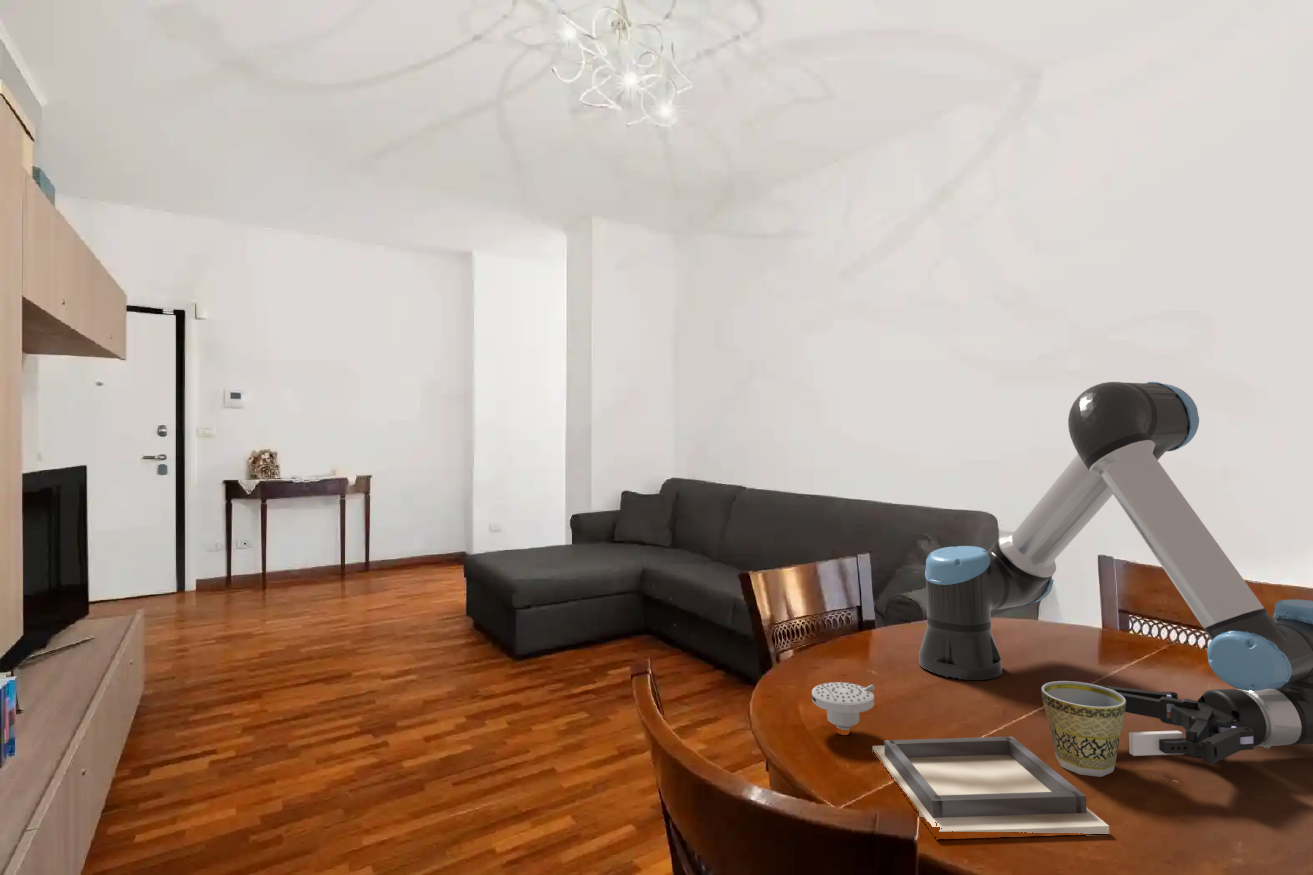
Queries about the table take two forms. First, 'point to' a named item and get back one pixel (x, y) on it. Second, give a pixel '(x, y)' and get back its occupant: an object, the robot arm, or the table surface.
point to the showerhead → (843, 702)
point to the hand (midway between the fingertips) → (1095, 722)
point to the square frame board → (986, 787)
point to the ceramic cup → (1084, 725)
